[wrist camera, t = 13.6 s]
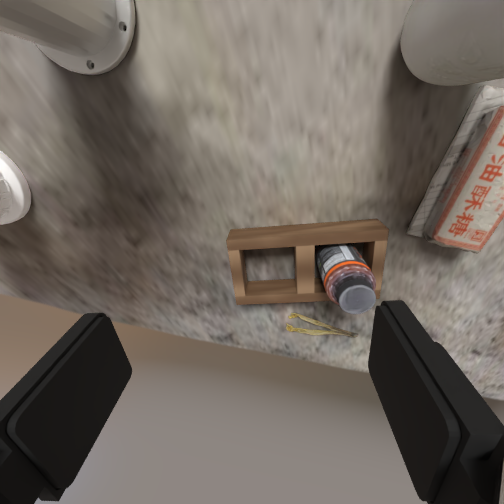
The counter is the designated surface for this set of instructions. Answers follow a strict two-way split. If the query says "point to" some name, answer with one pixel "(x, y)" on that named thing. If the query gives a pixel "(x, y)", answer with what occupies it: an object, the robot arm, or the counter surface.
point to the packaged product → (468, 180)
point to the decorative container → (12, 191)
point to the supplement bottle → (346, 277)
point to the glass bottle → (454, 41)
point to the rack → (302, 257)
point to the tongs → (318, 332)
